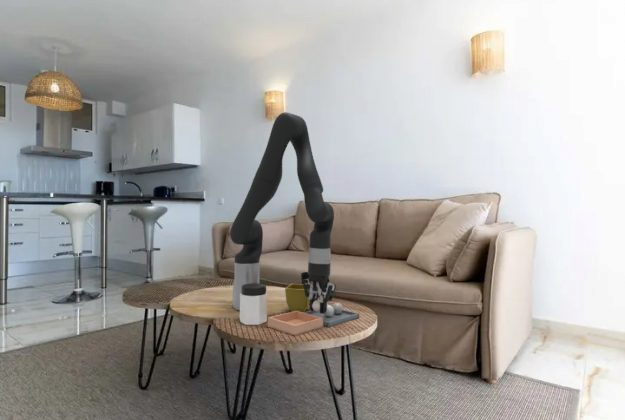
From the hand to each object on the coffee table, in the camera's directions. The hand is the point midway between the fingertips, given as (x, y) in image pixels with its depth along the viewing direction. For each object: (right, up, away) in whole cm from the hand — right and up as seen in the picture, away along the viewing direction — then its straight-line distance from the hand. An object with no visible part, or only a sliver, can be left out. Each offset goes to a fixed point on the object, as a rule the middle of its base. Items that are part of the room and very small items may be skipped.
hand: (317, 311), depth 134 cm
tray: (+4, -3, +3) cm, 6 cm away
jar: (-21, -3, -3) cm, 22 cm away
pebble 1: (+4, -3, +3) cm, 5 cm away
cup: (-3, -3, +24) cm, 24 cm away
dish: (-7, -3, -8) cm, 11 cm away
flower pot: (-7, -3, +12) cm, 15 cm away
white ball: (0, 0, 0) cm, 0 cm away
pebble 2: (+7, -3, +6) cm, 10 cm away
